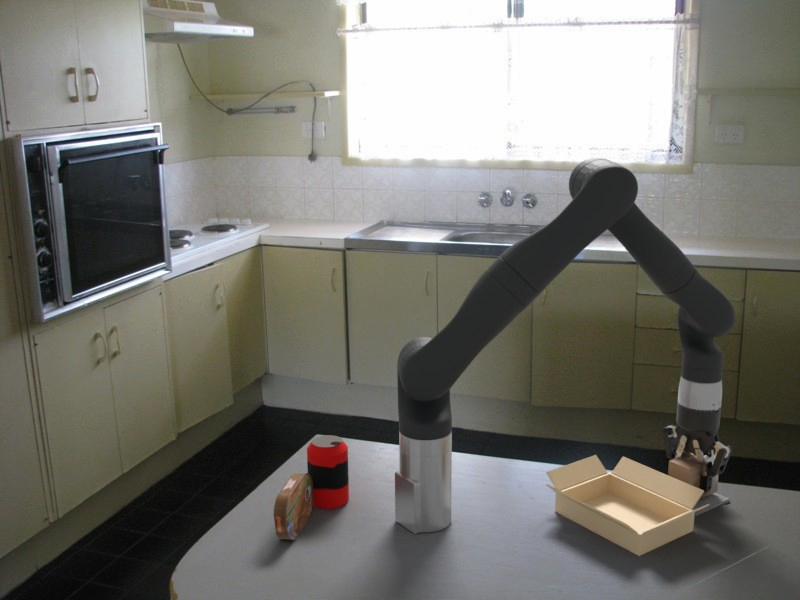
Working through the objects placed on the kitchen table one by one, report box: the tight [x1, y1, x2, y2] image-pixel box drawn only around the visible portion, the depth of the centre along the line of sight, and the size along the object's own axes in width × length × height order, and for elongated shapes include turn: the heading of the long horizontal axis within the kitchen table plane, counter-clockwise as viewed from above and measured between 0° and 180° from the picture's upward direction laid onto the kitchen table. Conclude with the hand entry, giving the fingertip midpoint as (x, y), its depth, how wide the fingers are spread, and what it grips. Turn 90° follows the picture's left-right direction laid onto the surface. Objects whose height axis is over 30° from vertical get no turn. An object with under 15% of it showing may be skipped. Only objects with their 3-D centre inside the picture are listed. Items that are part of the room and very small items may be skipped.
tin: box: [273, 472, 314, 541], centre depth 153 cm, size 15×3×8 cm, turn 169°
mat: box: [692, 492, 731, 517], centre depth 162 cm, size 10×9×1 cm
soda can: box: [306, 434, 350, 510], centre depth 162 cm, size 8×8×12 cm
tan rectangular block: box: [667, 453, 720, 499], centre depth 161 cm, size 9×4×7 cm, turn 125°
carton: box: [545, 454, 709, 557], centre depth 153 cm, size 20×26×7 cm
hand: (692, 487), depth 161 cm, fingers closed on tan rectangular block, 4 cm apart
